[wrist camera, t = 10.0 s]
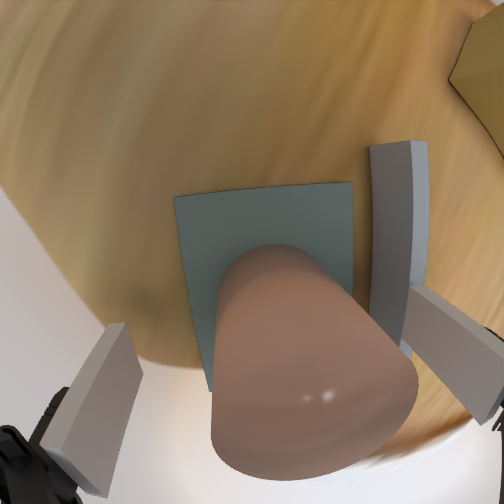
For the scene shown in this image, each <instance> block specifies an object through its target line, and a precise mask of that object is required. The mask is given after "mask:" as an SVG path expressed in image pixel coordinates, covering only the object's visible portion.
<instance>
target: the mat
mask: <svg viewBox="0 0 504 504" xmlns="http://www.w3.org/2000/svg"><path fill="white" fill-rule="evenodd" d="M174 206H175V214H176V222H177V229H178V236H179V243H180V249H181V255H182V262H183V268H184V274H185V279H186V285H187V291H188V296H189V301H190V307H191V312H192V317H193V322H194V327H195V332H196V336H197V341H198V346H199V350H200V355H201V359H202V363H203V368H204V372H205V376H206V380H207V384H208V388H209V392H212V390H213V368H214V348H215V331H216V315H217V300H218V290H219V285H220V282H221V280H222V277H223V276H224V274H225V272H226V271H227V269H228V268H229V266H230V265H231V264H232V263H233V262H234V261H235V260H236V259H237V258H239V257H240V256H241V255H243V254H244V253H246V252H248V251H250V250H252V249H254V248H257V247H260V246H264V245H270V244H283V245H289V246H293V247H296V248H299V249H301V250H303V251H305V252H307V253H308V254H309V255H311V256H312V257H313V258H314V259H315V260H316V261H317V262H318V263H319V264H320V265H321V266H322V267H323V268H324V269H325V270H326V271H327V272H328V273H329V274H330V275H331V276H332V277H333V278H334V279H335V280H336V281H337V282H338V283H339V284H340V285H341V286H342V288H343V289H344V290H345V291H346V292H347V293H348V294H349V295H350V296H351V297H352V294H353V266H354V216H353V188H352V183H351V182H341V183H319V184H302V185H287V186H274V187H262V188H251V189H241V190H231V191H222V192H213V193H204V194H196V195H188V196H181V197H175V198H174Z"/></svg>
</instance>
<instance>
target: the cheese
mask: <svg viewBox="0 0 504 504" xmlns="http://www.w3.org/2000/svg"><path fill="white" fill-rule="evenodd" d="M449 80H450V82H451V83H452V85H453V86H454V87H455V89H456V90H457V91H458V92H459V94H460V95H461V96H462V97H463V99H464V100H465V101H466V102H467V104H468V105H469V106H470V108H471V109H472V110H473V111H474V113H475V114H476V115H477V117H478V118H479V119H480V121H481V122H482V123H483V125H484V126H485V128H486V129H487V130H488V132H489V133H490V135H491V136H492V138H493V140H494V141H495V143H496V145H497V146H498V148H499V150H500V151H501V153H502V155H503V157H504V3H502V4H500V5H499V6H497V7H496V8H494V9H493V10H492V11H490V12H489V13H487V14H486V15H485V16H483V17H482V18H480V19H479V20H477V21H475V22H474V23H473V24H472V26H471V29H470V31H469V33H468V36H467V38H466V40H465V43H464V45H463V48H462V51H461V53H460V56H459V59H458V61H457V64H456V66H455V68H454V70H453V72H452V74H451V76H450V78H449Z"/></svg>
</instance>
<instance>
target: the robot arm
mask: <svg viewBox="0 0 504 504" xmlns="http://www.w3.org/2000/svg"><path fill="white" fill-rule="evenodd" d="M401 338H402V339H403V340H404V341H405V342H406V343H407V344H408V345H409V346H410V347H411V348H412V349H413V350H414V351H415V353H416V354H417V355H418V356H419V357H420V358H421V359H422V360H423V361H424V362H425V363H426V364H427V365H428V367H429V368H430V369H431V370H432V371H433V372H434V373H435V374H436V375H437V376H438V377H439V379H440V380H441V381H442V382H443V383H444V384H445V385H446V386H447V387H448V389H449V390H450V391H451V392H452V393H453V394H454V395H455V397H456V398H457V399H458V400H459V401H460V402H461V403H462V405H463V406H464V407H465V408H466V409H467V410H468V412H469V413H470V414H471V415H472V416H473V417H474V419H475V420H476V421H477V422H478V423H479V425H482V424H484V423H486V422H487V421H488V420H490V419H491V418H493V416H494V415H495V413H496V412H497V410H498V408H499V406H501V407H502V408H503V409H504V339H502V338H501V337H498V335H497V334H496V333H494V332H493V331H492V330H490V329H488V328H486V327H483V326H481V325H480V324H479V323H477V322H476V321H475V320H473V319H472V318H470V317H469V316H468V315H466V314H465V313H463V312H462V311H461V310H459V309H458V308H456V307H455V306H454V305H452V304H451V303H449V302H448V301H446V300H445V299H443V298H442V297H441V296H439V295H438V294H436V293H435V292H433V291H432V290H430V289H429V288H427V287H426V286H424V285H423V284H421V285H416V286H411V287H410V289H409V296H408V303H407V310H406V316H405V322H404V327H403V332H402V337H401ZM142 376H143V372H142V369H141V366H140V364H139V361H138V358H137V355H136V352H135V349H134V346H133V343H132V340H131V337H130V334H129V331H128V328H127V325H126V323H110V324H109V325H108V327H107V328H106V330H105V331H104V333H103V335H102V336H101V337H100V339H99V341H98V342H97V344H96V345H95V347H94V348H93V350H92V352H91V353H90V355H89V356H88V358H87V360H86V361H85V363H84V365H83V366H82V368H81V369H80V371H79V373H78V374H77V376H76V378H75V379H74V381H73V383H72V385H71V386H70V387H63V388H62V389H61V390H60V391H59V392H58V393H56V394H55V395H54V397H53V398H52V400H51V402H50V403H49V407H47V409H46V410H45V412H44V415H43V416H42V417H41V419H40V421H39V423H38V425H37V426H36V428H35V430H34V432H33V434H32V435H31V437H30V439H29V441H28V442H27V441H26V440H25V438H24V437H23V436H22V434H20V432H19V431H18V430H17V429H16V428H15V427H14V426H10V425H3V426H1V427H0V500H1V504H83V503H82V500H81V498H80V497H79V495H78V494H77V493H76V490H77V487H78V486H79V487H80V488H81V489H82V490H84V491H85V492H86V493H87V494H90V495H94V496H99V497H103V498H108V493H109V489H110V485H111V481H112V477H113V473H114V470H115V466H116V462H117V458H118V455H119V451H120V447H121V444H122V440H123V437H124V433H125V430H126V427H127V423H128V420H129V417H130V414H131V410H132V407H133V404H134V401H135V398H136V395H137V392H138V389H139V385H140V383H141V380H142ZM499 423H501V425H500V427H499V428H498V430H497V431H501V434H502V475H501V490H500V500H499V504H504V410H503V411H502V413H501V415H500V416H499V418H498V419H497V421H496V422H495V424H494V426H493V428H492V431H494V430H495V429H496V428H497V426H498V424H499Z"/></svg>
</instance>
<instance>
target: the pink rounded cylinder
mask: <svg viewBox="0 0 504 504" xmlns="http://www.w3.org/2000/svg"><path fill="white" fill-rule="evenodd" d="M418 386H419V384H418V375H417V371H416V368H415V367H414V365H413V363H412V362H411V360H410V359H409V358H408V357H407V356H406V355H405V354H404V353H403V352H402V350H401V349H400V348H399V347H398V346H397V345H396V344H395V343H394V342H393V341H392V339H391V338H390V337H389V336H388V335H387V334H386V333H385V332H384V331H383V330H382V329H381V328H380V326H379V325H378V324H377V323H376V322H375V321H374V320H373V319H372V318H371V317H370V316H369V315H368V314H367V313H366V312H365V310H364V309H363V308H362V307H361V306H360V305H359V304H358V303H357V302H356V301H355V300H354V299H353V298H352V297H351V296H350V295H349V294H348V293H347V292H346V291H345V290H344V289H343V288H342V286H341V285H340V284H339V283H338V282H337V281H336V280H335V279H334V278H333V277H332V276H331V275H330V274H329V273H328V272H327V271H326V270H325V269H324V268H323V267H322V266H321V265H320V264H319V263H318V262H317V261H316V260H315V259H314V258H313V257H312V256H311V255H309V254H308V253H307V252H305V251H303V250H301V249H299V248H296V247H293V246H289V245H283V244H270V245H264V246H260V247H257V248H254V249H252V250H250V251H248V252H246V253H244V254H243V255H241V256H240V257H239V258H237V259H236V260H235V261H234V262H233V263H232V264H231V265H230V266H229V268H228V269H227V271H226V272H225V274H224V276H223V277H222V280H221V282H220V285H219V290H218V300H217V315H216V331H215V348H214V368H213V390H212V419H211V440H212V444H213V447H214V449H215V451H216V453H217V454H218V456H219V457H220V458H221V460H223V461H224V462H225V463H226V464H227V465H229V466H230V467H232V468H233V469H235V470H237V471H239V472H241V473H243V474H246V475H249V476H252V477H256V478H261V479H268V480H279V481H287V480H288V481H290V480H302V479H308V478H314V477H318V476H322V475H326V474H329V473H332V472H335V471H338V470H341V469H343V468H345V467H348V466H350V465H352V464H354V463H356V462H358V461H360V460H361V459H363V458H365V457H367V456H368V455H370V454H371V453H373V452H374V451H375V450H377V449H378V448H379V447H381V446H382V445H383V444H384V443H386V442H387V441H388V440H389V439H390V438H391V437H392V436H393V435H394V434H395V433H396V432H397V431H398V429H399V428H400V427H401V426H402V424H403V423H404V422H405V420H406V419H407V417H408V415H409V414H410V412H411V410H412V408H413V406H414V403H415V401H416V397H417V393H418Z"/></svg>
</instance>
